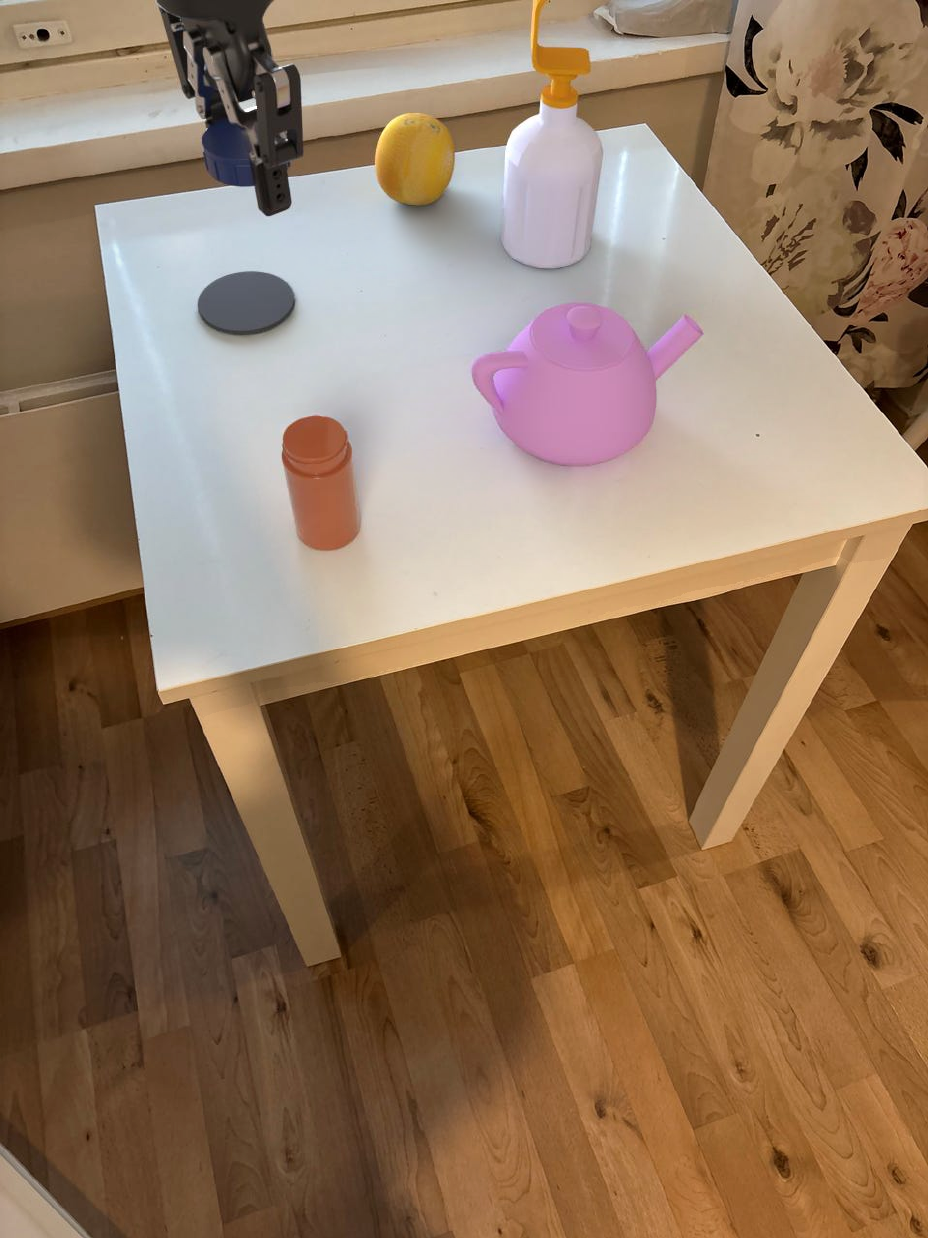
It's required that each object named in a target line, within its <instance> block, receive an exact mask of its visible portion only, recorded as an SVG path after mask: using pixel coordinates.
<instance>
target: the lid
mask: <svg viewBox="0 0 928 1238" xmlns="http://www.w3.org/2000/svg"><path fill="white" fill-rule="evenodd" d="M254 130H255V133H256V136H257V139H258V142H259V133H258V122H256V123H255V124H254ZM285 133H286V136H287V131H285ZM200 141H201V147H202V156H203V161H204V165H205V170H206V172H208V174H209V175H210V176H211V178H213V179H214V180H215V181H217V182H219V183H221V184H224V185H226V186H232V187H239V188H246V187H247V188H249V187H255V186H254V181H253V175H252V170H251V164H250V161H251V160H250V158H249V154H248V151H247V148H246V145H245V143H244V140H243V137H242V134H241V131H240V129H239V128H237V127H234V126H233V125H232V124H231V123H230V121H229V118H227V119H223V120H221V121H218V122H216V123H214V124H213V125H211V126H210V127H209V128H207V129H206V128H205V130H204V132H203V134H202V136H201V140H200ZM291 162H292V161H289V162H287V163H286V167H287V171H288V170H289V168H291Z"/></svg>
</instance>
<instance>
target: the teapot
mask: <svg viewBox="0 0 928 1238" xmlns="http://www.w3.org/2000/svg"><path fill="white" fill-rule="evenodd" d="M637 334H638V333H636V331H635V330H634V328H633V327H632V326H631V324H630V323H629V322H628V321H627V320H626V319H625V318H624V317H623V316H622V315H620V314H619V313H617V311H616V312H615V311H614V310H612V309H610V308H608V307H606V306H603V305H600V304H596V303H590V302H583V301H582V302H567V303H561V304H557V305H554V306H551V307H549V308H547V309H545V310H544V311H542V312H541V313H539V314H538V315H537V316H535V317H534V318H533V319H532V320H531V321H530V322H529V323H528V324H526V325H525V327H523V328H522V330H521V331H520V332H519V333H518V334H517V335H516V336H515V337H514V339H513V340H512V341H511V343H510V344H509V345H508V346H507V348H506V350H504V351H493V352H489V353H484V354H482V355H479V356H478V357H476V359H475V360H474V361H473V362H472V364H471V372H470V374H471V378H472V382H473V385H474V386H475V388H476V390H477V391H478V392H479V394H480V395H481V396H482V397H483V399H484V400H485V401H486V402H487V403H488V404H489V406H491V410H492V413H493V414H492V415H493V416H494V418H495V421H496V423H497V425H498V427H499V429H500V430H501V431H502V433H503V434H504V435H505V436H506V437H507V438H508V439H509V440H510V441H511V442H512V443H513V444H515V446H517V447H518V448H519V449H521V450H523V452H525V453H527V454H529V455H530V456H533V457H534V458H536V459H538V460H540V461H543V462H545V463H548V464H549V463H550V464H552V465H556V466H557V465H558V466H562V467H563V466H565V467H587V466H592V465H593V466H594V465H597V464H601V463H604V462H608V461H611V460H613V459H616V458H618V457H620V456H622V455H624V454H626V453H627V452H629V451H631V450H632V449H634V448H635V447H636V446H637V445H638V444H639V443H641V441H643V439H644V438H645V437H646V435H647V434H648V433H649V431H650V429H651V428H652V426H653V423H654V420H655V416H656V411H657V383H656V381H658V379H659V378H661V377H662V376H663V375H664V374H665V373H666V372H667V371H668V370H669V369H670V368H671V367H672V366H673V365H674V364H675V363H676V362H677V361H678V360H679V359H680V358H681V357H682V356H683V355H684V354H685V353H686V352H687V351H688V350H689V349H691V347H692V346H694V345H695V344H696V343H697V341H699V340H700V339H701V337H703V336H704V335H705V333H704V330H703V329H702V327H700V325H699V324H698V323H697V322H696V321H695V320H694V319H693V318H692V317H690V316H689V315H687V314H684V315H683V316H682V317H680V318H679V320H678V321H676V323H674V324H673V325H672V326H671V328H669V330H667V331H666V332H665V333H664V334H663V335H662V336H661V337H660V338H659V339H658V340H657V341H656V342H655V343H654V344H653V345H652V346H651V347H650V348H649V349H648V350H646V348H645V347H644V345H643V343H642V342H641V340H640V338H639V336H638V335H637Z"/></svg>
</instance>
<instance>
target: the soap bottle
mask: <svg viewBox="0 0 928 1238" xmlns="http://www.w3.org/2000/svg"><path fill="white" fill-rule="evenodd" d="M549 1H550V0H532V9H531V13H532V14H531V24H530V25H531V26H530V53H531V64H532V68H533V69H534V70H535V71H536V73H539V74H542V75H546V77H547V78H548V79H550V80H551V84H549V85H546V86H545V87H544V88H542V90H541V95H540V101H539V102H540V105H539V113H538V114H536V115H533V116H531V117H528V118H527V119H525V120H524V121H523V122H521V123H520V124H519V125H517V126H516V127H515V128H514V129H513V130H512V131H511V134H510V136H509V138H508V141H507V143H506V147H505V150H504V151H505V152H504V153H505V154H504V170H503V173H504V174H503V187H502V189H503V190H502V193H503V194H502V207H501V209H502V210H501V226H500V227H501V229H500V241H501V243H502V246H503V249H504V251H505V252H506V253H507V254H508V255H509V256H510V258H512V259H513V260H515V261H517V262H519V263H521V264H523V265H525V266H529V267H533V268H537V269H559V268H564V267H570V266H572V265H574V264H576V263H578V262H580V261H582V259H584V257H585V256H586V255H587V254H588V252H589V251H590V250H591V249H590V248H591V243H592V237H593V231H594V223H595V215H596V209H597V201H598V196H599V195H598V194H599V193H598V192H599V188H600V187H599V186H600V179H601V174H602V173H601V172H602V166H603V158H604V157H603V156H604V148H603V143H602V141H601V138H600V136H599V133H598V132H597V131H596V130H595V129H594V128H593V127H592V126H591V125H590V124H589V123H587V122H586V121H585V120H584V119H582V118H580V117H578V116H577V115H578V114H577V112H578V105H579V92H578V90H577V89H576V88H575V87H573V86H571V82H572V81H574V80H576V79H577V78H578V76H585V75H589V74H590V73H591V69H592V66H591V58H590V51H589V50H588V49H586V48H584V47H565V46H564V47H563V46H542V45H540V44H539V43H538V40H539V25H540V16H541V13H542V9H543V7H544V5H545V4H546V3H548V2H549Z"/></svg>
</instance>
